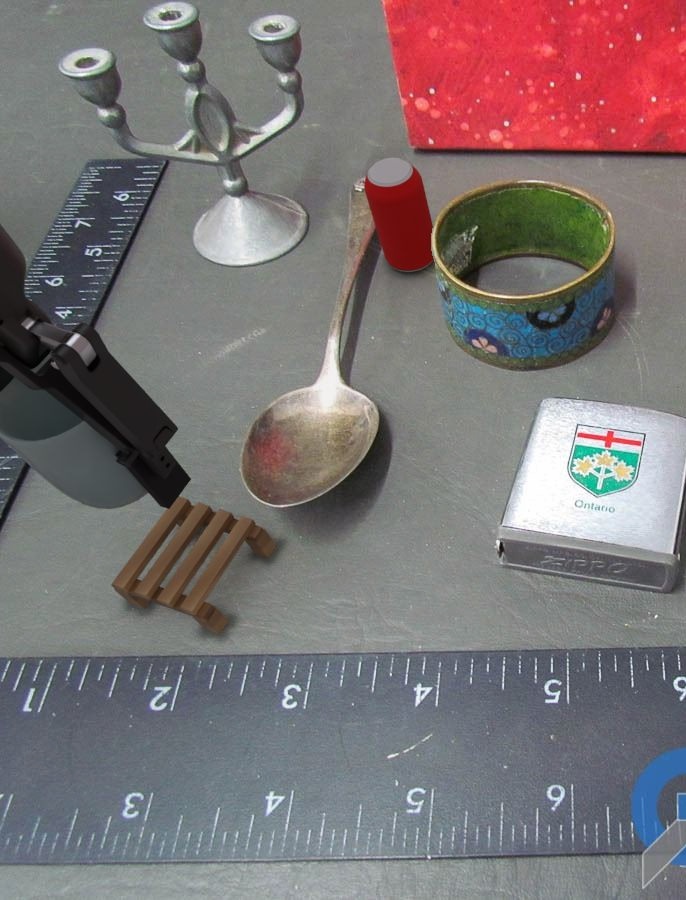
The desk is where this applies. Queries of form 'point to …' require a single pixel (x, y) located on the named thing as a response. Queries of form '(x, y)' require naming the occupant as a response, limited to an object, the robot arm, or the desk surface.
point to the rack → (189, 560)
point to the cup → (64, 448)
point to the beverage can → (400, 213)
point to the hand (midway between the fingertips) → (126, 477)
